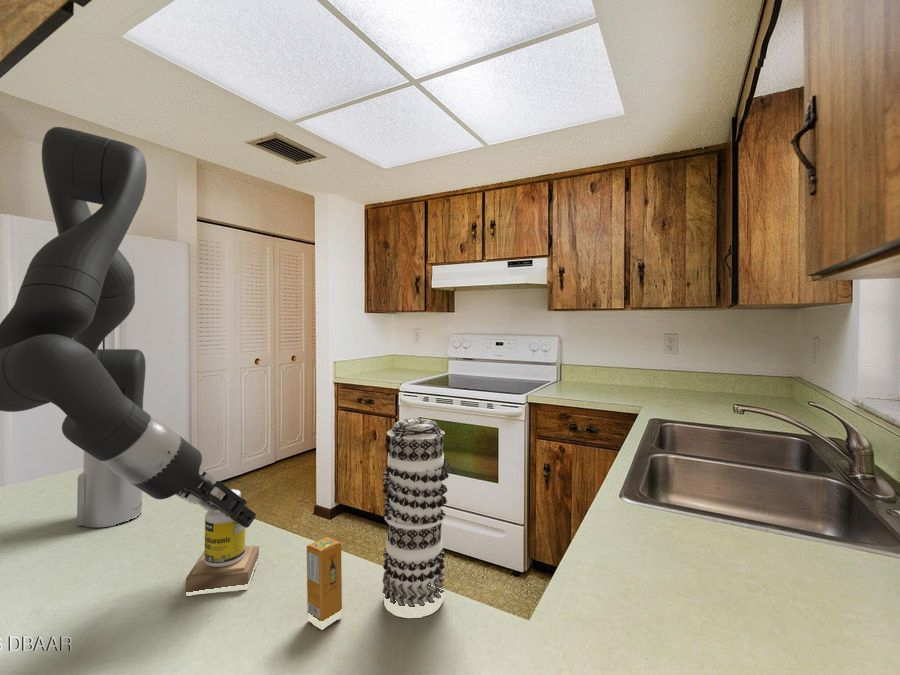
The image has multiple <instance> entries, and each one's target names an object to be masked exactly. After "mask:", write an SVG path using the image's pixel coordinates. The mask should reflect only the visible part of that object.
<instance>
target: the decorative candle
mask: <svg viewBox="0 0 900 675" xmlns="http://www.w3.org/2000/svg"><path fill="white" fill-rule="evenodd" d="M445 434H446V432H445V431H444V430H442V429H441V428H440V427H439V425H438V423H437V422H436V421H435V420H431V419H427V418H418V417H417V418H413V417H412V418H405V419H400V420H398V421H396V422H395V423H394V425H393V426H392V428H391V429H389V430H388V431H386V435H388V437H389V440H388V441H389V442H388V447H389V448H388V453H387V465H386V466H384V472H383V475H382V476H383V477H382V482H383V486H382V487H383V488H382V493H384V496H385V497H384V499H383V501H384V502H383V505H382V506H383V508H384V509H383V512H384V513H383V517H384V521H385V522H387V535H386V542H385V548H384V552H383V558H384V560H383V562H384V563H383V566H382V567H383V569H384V572H383V577H382V584H383V588H382V594H383V593H384V594H385V598H386V599H389V598H390V602H391V603H393V604H395V603H396V601H397V602H398V605H399V606H405V604H408V606H409V607H415V605H414V604H419V605H420V606H424V605H425V603H424V602H427V601H428V602H429V603H434V602H435V601H434V600H433V598H435V597H436V598H438V599H439V598H441V595H440V594H439V592H440V593H443V592H444V593H445V589H444V588H443V587H444V586H445V585H444V582H445V581H446V580H445V577H444V575H445V573H444V571H443V570H444V569H445V564H444V563H445V561H444V560H445V556H446V553H445V548H444V547H443V535H442V525H443V524H442V522H443V521H444V520H445V519H446V513H445V510H444V509H442V507H443V506H445V505H446V504H447V503H448V500H447V497H446V496H444V495H445V494H446V493H447V492H448V487H447V486H446V485H445V484H444V483H442V482H444V481H445V480H446V479H448V478H449V473H448V472H447V471H446V470H445V469H446V468H448V467H450V462H448V460H447V459H445V453H444V435H445ZM419 580H420V581H419ZM429 584H430V585H429ZM431 585H433V586H431ZM434 586H435V587H434ZM437 587H438V588H437ZM439 588H441V589H444V590H441V589H439ZM440 590H441V591H440ZM395 600H396V601H395ZM404 603H405V604H404Z"/></svg>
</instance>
